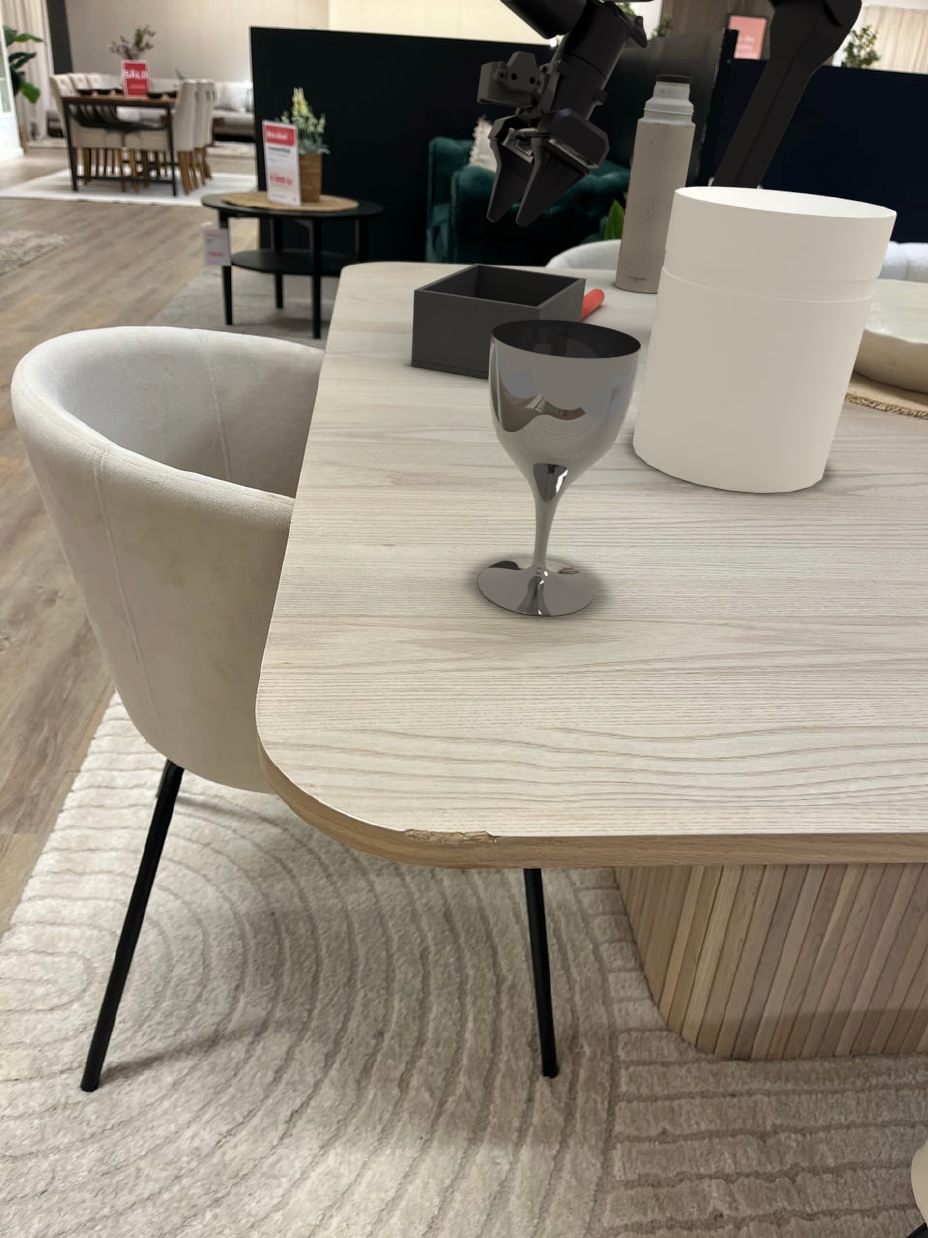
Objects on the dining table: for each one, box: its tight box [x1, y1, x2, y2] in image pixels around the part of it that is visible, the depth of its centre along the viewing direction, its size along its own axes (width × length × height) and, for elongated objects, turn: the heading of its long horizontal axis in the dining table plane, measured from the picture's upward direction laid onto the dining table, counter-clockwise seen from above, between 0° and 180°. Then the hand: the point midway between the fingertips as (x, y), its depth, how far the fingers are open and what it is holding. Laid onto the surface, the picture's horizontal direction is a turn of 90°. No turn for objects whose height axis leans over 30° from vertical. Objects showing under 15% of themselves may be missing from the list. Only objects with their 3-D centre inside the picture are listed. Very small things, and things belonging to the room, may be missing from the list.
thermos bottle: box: [614, 74, 696, 294], centre depth 134 cm, size 8×8×28 cm
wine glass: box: [477, 320, 642, 617], centre depth 53 cm, size 8×8×15 cm
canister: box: [632, 186, 898, 494], centre depth 74 cm, size 16×16×20 cm
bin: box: [410, 263, 587, 380], centre depth 100 cm, size 18×13×8 cm
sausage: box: [581, 287, 606, 320], centre depth 122 cm, size 14×2×2 cm, turn 159°
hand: (504, 222), depth 94 cm, fingers open, 9 cm apart
